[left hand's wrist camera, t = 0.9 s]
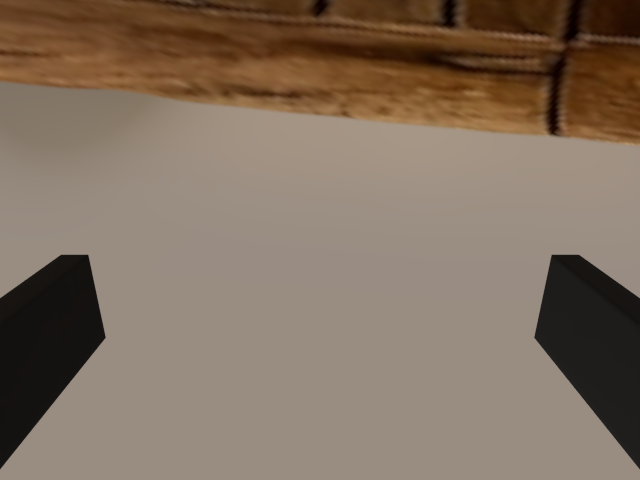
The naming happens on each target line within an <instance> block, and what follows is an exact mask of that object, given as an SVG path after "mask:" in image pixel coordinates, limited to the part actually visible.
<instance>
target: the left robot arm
mask: <svg viewBox="0 0 640 480" xmlns="http://www.w3.org/2000/svg"><path fill="white" fill-rule="evenodd" d="M105 338H106V337H105V332H104V328H103V323H102V318H101V313H100V309H99V304H98V299H97V294H96V290H95V285H94V280H93V275H92V271H91V266H90V261H89V256H88V255H60V256H59V257H57V258H56V259H55V260H53V261H52V262H50V263H49V264H48V265H46V266H45V267H43V268H42V269H41V270H39V271H38V272H36V273H35V274H34V275H32V276H31V277H29V278H28V279H27V280H25V281H24V282H22V283H21V284H20V285H18V286H17V287H15V288H14V289H13V290H11V291H10V292H8V293H7V294H6V295H4V296H3V297H1V298H0V469H1V468H2V466H3V465H4V464H5V462H6V461H7V460H8V459H9V457H10V456H11V455H12V454H13V453H14V451H15V450H16V449H17V448H18V446H19V445H20V444H21V443H22V441H23V440H24V439H25V438H26V436H27V435H28V434H29V433H30V431H31V430H32V429H33V428H34V426H35V425H36V424H37V423H38V421H39V420H40V419H41V418H42V416H43V415H44V414H45V413H46V411H47V410H48V409H49V408H50V406H51V405H52V404H53V403H54V401H55V400H56V399H57V398H58V396H59V395H60V394H61V393H62V391H63V390H64V389H65V388H66V386H67V385H68V384H69V383H70V381H71V380H72V379H73V378H74V376H75V375H76V374H77V373H78V371H79V370H80V369H81V368H82V366H83V365H84V364H85V363H86V361H87V360H88V359H89V358H90V356H91V355H92V354H93V353H94V352H95V350H96V349H97V348H98V347H99V345H100V344H101V343H102V342H103V340H104V339H105ZM535 339H536V340H537V342H538V343H539V344H540V345H541V346H542V348H543V349H544V350H545V351H546V353H547V354H548V355H549V356H550V358H551V359H552V360H553V361H554V363H555V364H556V365H557V366H558V368H559V369H560V370H561V371H562V373H563V374H564V375H565V376H566V378H567V379H568V380H569V381H570V383H571V384H572V385H573V386H574V388H575V389H576V390H577V391H578V393H579V394H580V395H581V396H582V398H583V399H584V400H585V401H586V403H587V404H588V405H589V406H590V408H591V409H592V410H593V411H594V413H595V414H596V415H597V416H598V418H599V419H600V420H601V421H602V423H603V424H604V425H605V426H606V428H607V429H608V430H609V431H610V433H611V434H612V435H613V436H614V438H615V439H616V440H617V441H618V443H619V444H620V445H621V446H622V448H623V449H624V450H625V451H626V453H627V454H628V455H629V456H630V458H631V459H632V460H633V461H634V463H635V464H636V465H637V466H638V468H639V469H640V298H639V297H637V296H636V295H634V294H633V293H632V292H630V291H629V290H627V289H626V288H625V287H623V286H622V285H620V284H619V283H618V282H616V281H615V280H613V279H612V278H611V277H609V276H608V275H606V274H605V273H604V272H602V271H601V270H599V269H598V268H597V267H595V266H594V265H592V264H591V263H590V262H588V261H587V260H585V259H584V258H583V257H581V256H580V255H552V257H551V261H550V266H549V271H548V275H547V280H546V285H545V290H544V294H543V299H542V304H541V309H540V313H539V318H538V323H537V328H536V332H535Z"/></svg>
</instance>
